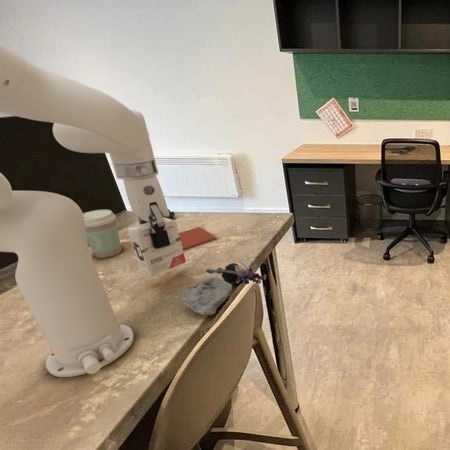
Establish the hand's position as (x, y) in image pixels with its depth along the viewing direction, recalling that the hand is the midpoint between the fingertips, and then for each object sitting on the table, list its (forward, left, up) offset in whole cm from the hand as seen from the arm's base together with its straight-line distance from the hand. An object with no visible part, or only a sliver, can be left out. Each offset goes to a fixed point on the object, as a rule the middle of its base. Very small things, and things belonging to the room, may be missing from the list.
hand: (157, 242), depth 82 cm
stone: (-14, -4, -7) cm, 17 cm away
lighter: (+41, -18, -9) cm, 46 cm away
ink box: (0, 0, -7) cm, 7 cm away
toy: (-21, -14, -8) cm, 26 cm away
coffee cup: (+27, +5, -11) cm, 30 cm away
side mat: (+19, -14, -11) cm, 26 cm away
